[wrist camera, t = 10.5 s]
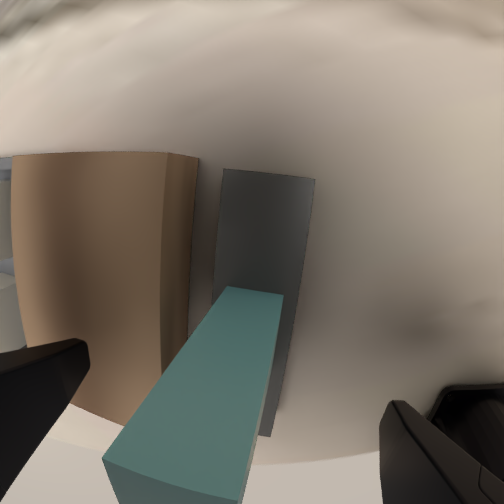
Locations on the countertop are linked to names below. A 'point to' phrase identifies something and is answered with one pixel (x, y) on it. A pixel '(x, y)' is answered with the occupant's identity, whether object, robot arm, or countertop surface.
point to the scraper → (223, 356)
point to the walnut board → (105, 264)
